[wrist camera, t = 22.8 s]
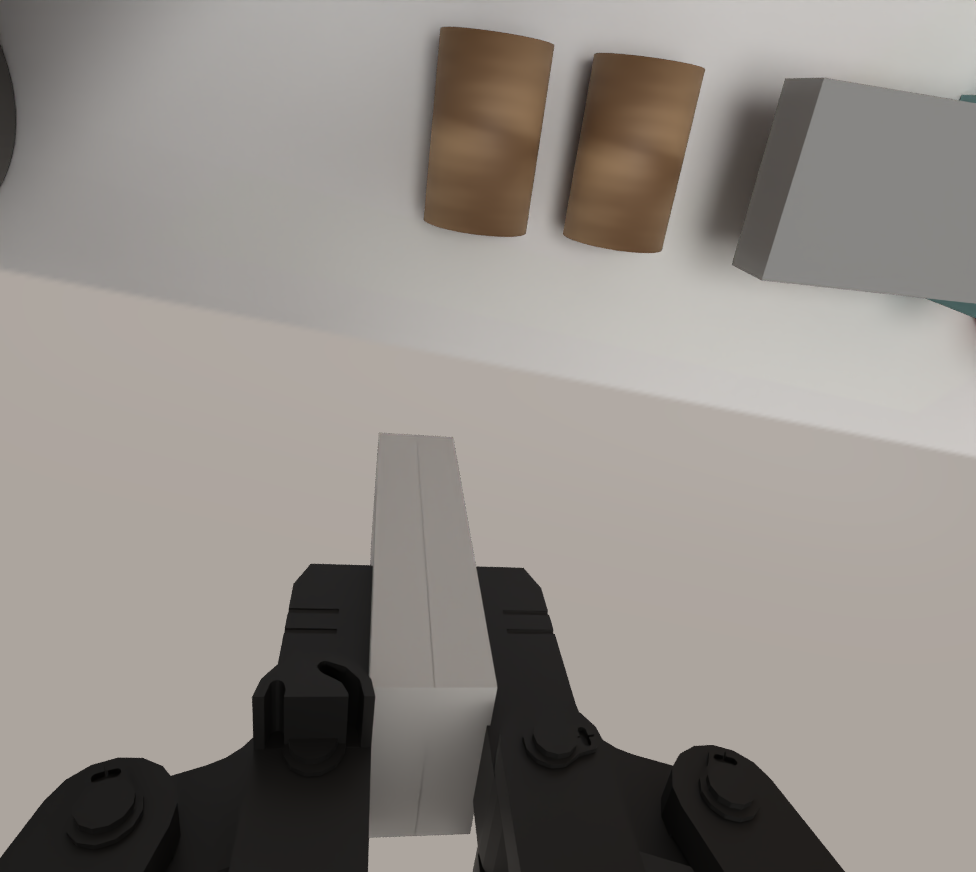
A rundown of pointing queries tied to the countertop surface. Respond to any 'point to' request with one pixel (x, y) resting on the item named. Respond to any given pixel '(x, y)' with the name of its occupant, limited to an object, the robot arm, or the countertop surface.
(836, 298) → the countertop surface
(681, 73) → the resting rollers
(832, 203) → the slab
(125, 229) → the countertop surface
